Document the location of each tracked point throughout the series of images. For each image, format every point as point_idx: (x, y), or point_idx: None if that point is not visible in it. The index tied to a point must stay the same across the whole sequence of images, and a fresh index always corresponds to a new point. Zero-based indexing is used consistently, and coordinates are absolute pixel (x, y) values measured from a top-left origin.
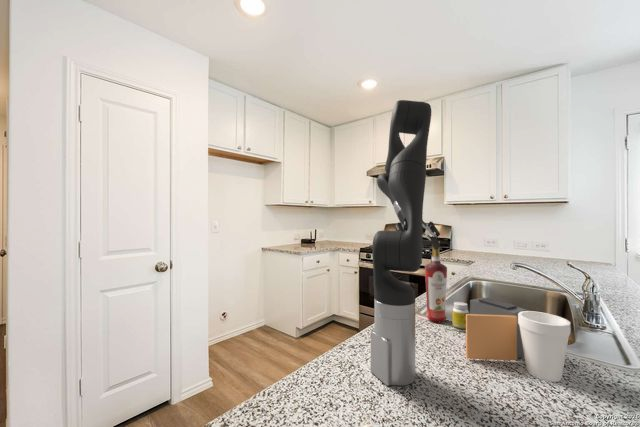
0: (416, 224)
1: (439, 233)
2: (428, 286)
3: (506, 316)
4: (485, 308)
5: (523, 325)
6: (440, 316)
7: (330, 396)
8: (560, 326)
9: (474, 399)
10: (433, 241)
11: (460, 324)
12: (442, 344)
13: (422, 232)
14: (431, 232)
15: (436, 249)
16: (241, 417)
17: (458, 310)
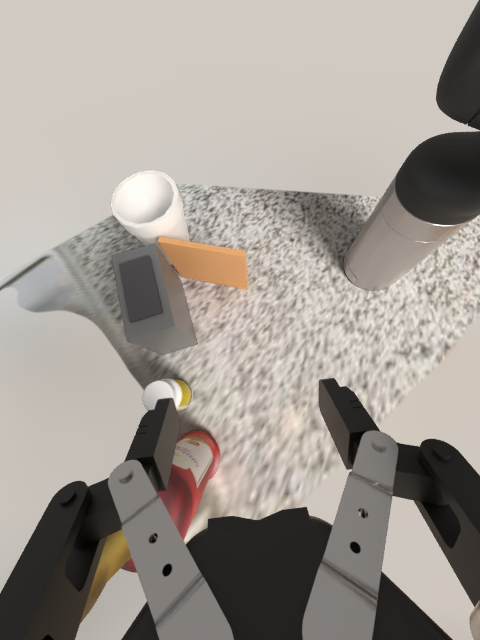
0: None
1: (56, 500)
2: (203, 476)
3: (176, 239)
4: (169, 294)
5: (181, 209)
6: (196, 435)
7: (461, 234)
8: (153, 171)
9: (294, 217)
10: (164, 451)
11: (183, 382)
12: (255, 337)
13: (225, 520)
14: (132, 507)
15: (176, 417)
16: None
17: (175, 387)
